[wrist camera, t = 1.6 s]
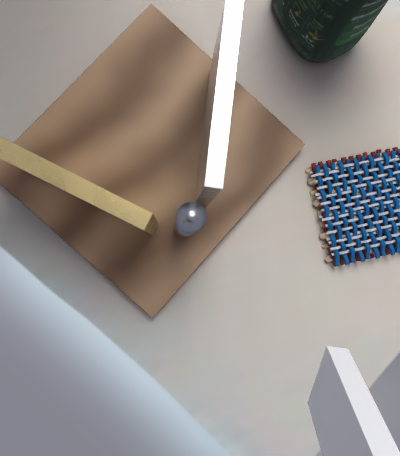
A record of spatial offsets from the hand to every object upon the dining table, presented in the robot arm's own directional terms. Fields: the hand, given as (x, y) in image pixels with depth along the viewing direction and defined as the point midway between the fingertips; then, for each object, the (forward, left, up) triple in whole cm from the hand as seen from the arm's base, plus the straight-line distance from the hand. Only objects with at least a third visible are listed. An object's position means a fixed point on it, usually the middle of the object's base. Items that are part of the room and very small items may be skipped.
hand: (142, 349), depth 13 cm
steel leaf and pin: (-13, +3, -21) cm, 24 cm away
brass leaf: (-8, -7, -19) cm, 22 cm away
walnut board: (-12, -2, -21) cm, 24 cm away
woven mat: (-9, +20, -21) cm, 30 cm away
